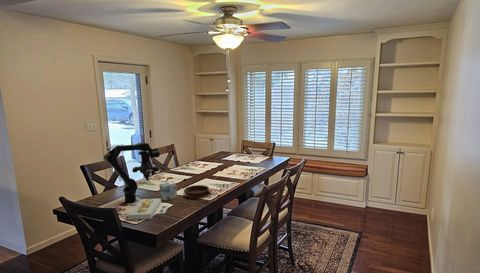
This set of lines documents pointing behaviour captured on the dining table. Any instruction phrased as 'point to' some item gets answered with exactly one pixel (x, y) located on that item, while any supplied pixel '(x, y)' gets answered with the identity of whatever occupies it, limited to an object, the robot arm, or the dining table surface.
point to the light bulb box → (168, 190)
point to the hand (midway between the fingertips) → (147, 180)
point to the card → (162, 210)
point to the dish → (197, 191)
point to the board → (148, 213)
